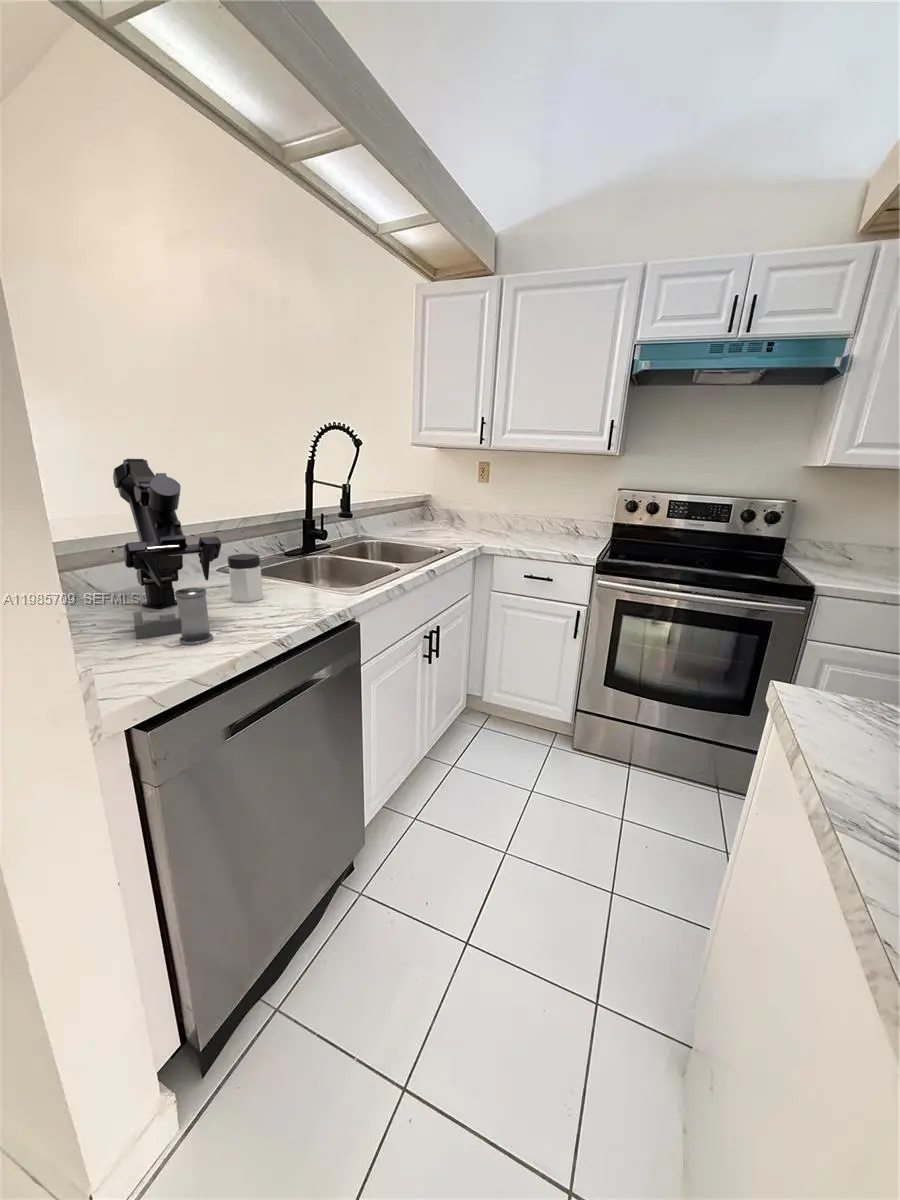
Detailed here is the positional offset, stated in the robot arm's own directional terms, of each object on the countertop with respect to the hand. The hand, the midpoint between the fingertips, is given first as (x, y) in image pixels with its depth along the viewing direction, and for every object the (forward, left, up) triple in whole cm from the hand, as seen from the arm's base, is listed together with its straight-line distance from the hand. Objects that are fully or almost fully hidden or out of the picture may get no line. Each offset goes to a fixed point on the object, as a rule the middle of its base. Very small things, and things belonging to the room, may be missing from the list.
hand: (184, 582), depth 107 cm
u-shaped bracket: (-9, +2, -12) cm, 15 cm away
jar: (-9, +28, -12) cm, 32 cm away
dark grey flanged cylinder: (+4, -2, -12) cm, 13 cm away
